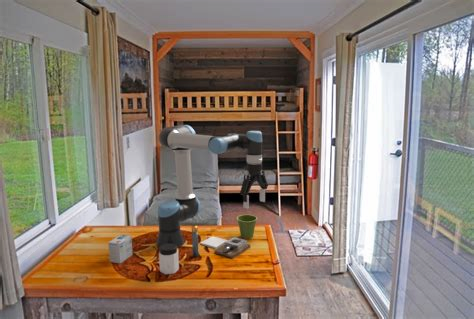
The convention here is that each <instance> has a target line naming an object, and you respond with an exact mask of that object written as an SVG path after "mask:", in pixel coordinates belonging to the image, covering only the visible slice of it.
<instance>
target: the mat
mask: <svg viewBox="0 0 474 319" xmlns="http://www.w3.org/2000/svg"><path fill="white" fill-rule="evenodd" d="M228 240H229V239H225V238H221V237H217V236H210V237H208V238H207V239H205V240H202V241H201V242H199V244H200V245H201V246H204V247H208V248H212V249H214V250H216V249H218V248H219V247H221V246H223V245H225V242H226V241H228Z"/></svg>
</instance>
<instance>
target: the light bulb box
mask: <svg viewBox="0 0 474 319" xmlns="http://www.w3.org/2000/svg"><path fill="white" fill-rule="evenodd" d="M107 244H108V251H109V254H108V255H109V262H110V263H116V264H122V263H123V262H125V261H126V260H127V259H130V258H131V257H132V256H133V240H132V235H127V234H120V235H118V236H116V237H115V238H113V239H111V240H110V241H108V243H107Z"/></svg>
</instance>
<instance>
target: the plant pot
mask: <svg viewBox="0 0 474 319" xmlns="http://www.w3.org/2000/svg"><path fill="white" fill-rule="evenodd" d="M236 220H237V224H238V227H239V234H240V237H241V239H251V238H254V233H255V227H256V223H257V220H258V217H257V216H255V215H253V214H240V215H237V217H236Z"/></svg>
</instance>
